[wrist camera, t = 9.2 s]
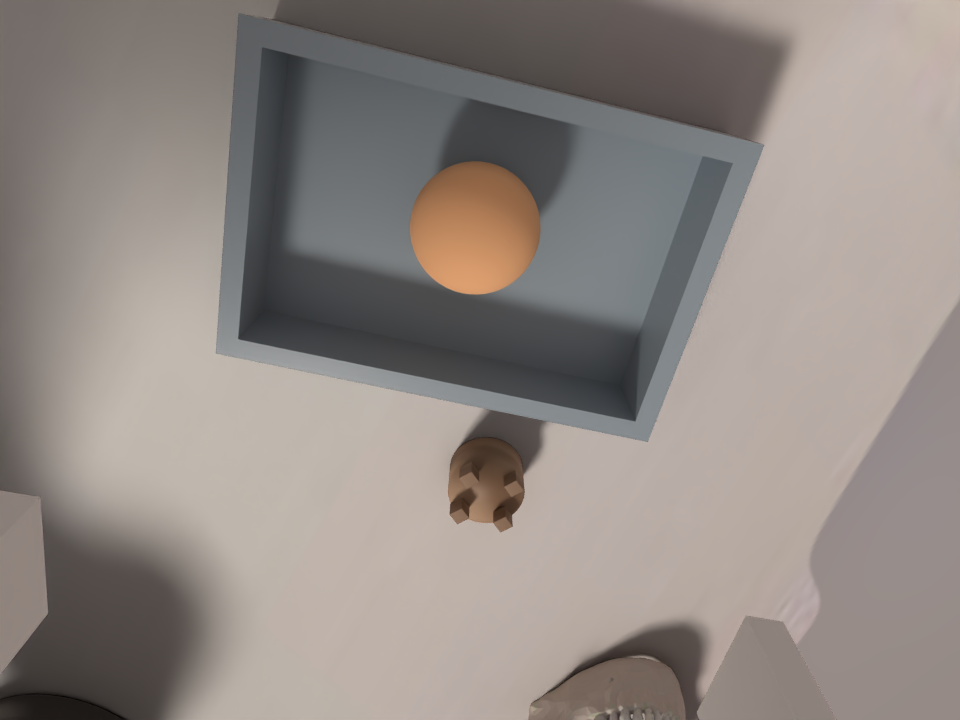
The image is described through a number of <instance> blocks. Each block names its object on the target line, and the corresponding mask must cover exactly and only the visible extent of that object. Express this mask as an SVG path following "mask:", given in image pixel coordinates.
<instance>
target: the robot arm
mask: <svg viewBox="0 0 960 720" xmlns="http://www.w3.org/2000/svg"><path fill="white" fill-rule="evenodd" d="M47 614H48V603H47V588H46V572H45V557H44V542H43V526H42V511H41V497H37V496H31V495H25V494H19V493H13V492H7V491H1V490H0V675H1V673H2V672H3V671H4V669H5V668H6V667H7V666H8V664H9V663H10V662H11V660H12V659H13V658H14V657H15V655H16V654H17V653H18V651H19V650H20V649H21V648H22V646H23V645H24V644H25V642H26V641H27V640H28V639H29V637H30V636H31V635H32V633H33V632H34V631H35V630H36V628H37V627H38V626H39V625H40V623H41V622H42V621H43V619H44V618H45V617H46V616H47ZM697 715H698V718H699V720H837V719H836V717H835V716H834V714H833V712H832V711H831V708H830V707H829V705H828V703H827V701H826V699H825V697H824V696H823V694H822V692H821V690H820V688H819V686H818V685H817V683H816V681H815V680H814V677H813V676H812V674H811V672H810V670H809V668H808V666H807V665H806V663H805V661H804V659H803V657H802V656H801V654H800V652H799V650H798V648H797V646H796V645H795V643H794V641H793V639H792V637H791V635H790V634H789V632H788V630H787V628H786V626H785V625H784V623H783V622H781V621H775V620H769V619H763V618H757V617H751V616H746V617H745V619H744V620H743V622H742V624H741V626H740V628H739V630H738V632H737V634H736V636H735V638H734V640H733V642H732V644H731V646H730V648H729V650H728V652H727V654H726V656H725V658H724V660H723V662H722V664H721V665H720V667H719V669H718V671H717V673H716V675H715V677H714V679H713V681H712V683H711V685H710V687H709V689H708V691H707V693H706V695H705V697H704V699H703V701H702V703H701V705H700V707H699V709H698V711H697ZM0 720H122V719H121V718H119V717H117V716H116V715H114V714H112V713H110V712H108V711H106V710H104V709H101V708H99V707H96V706H94V705H91V704H88V703H85V702H82V701H78V700H74V699H70V698H65V697H59V696H51V695H21V696H14V697H9V698H5V699H1V700H0Z"/></svg>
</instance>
